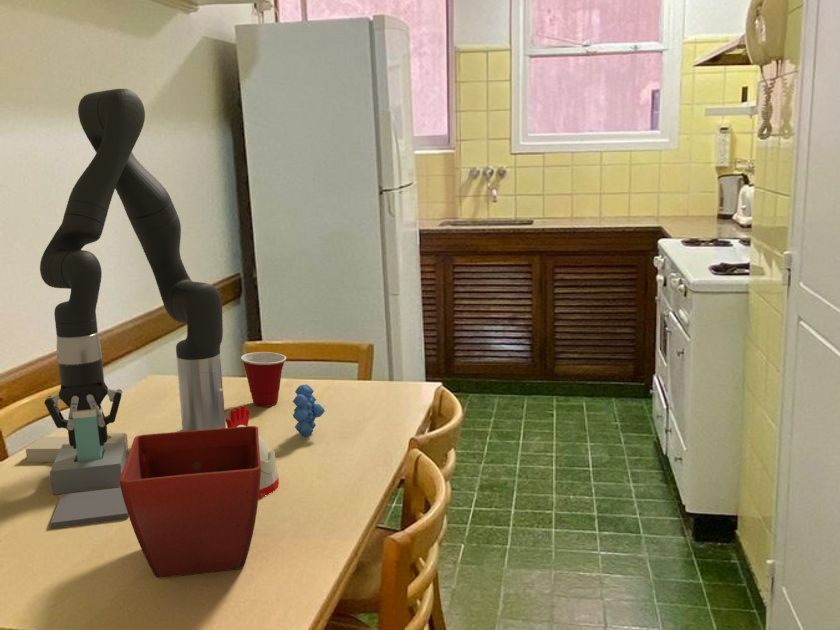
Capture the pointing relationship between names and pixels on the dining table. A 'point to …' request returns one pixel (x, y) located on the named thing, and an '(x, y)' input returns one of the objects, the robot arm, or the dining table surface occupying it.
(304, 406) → the grapes
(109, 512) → the mat
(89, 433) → the plug
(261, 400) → the plastic cup
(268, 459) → the kitchen timer
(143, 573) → the dining table surface
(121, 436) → the electrical outlet
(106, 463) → the grey square socket block
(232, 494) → the plant pot
